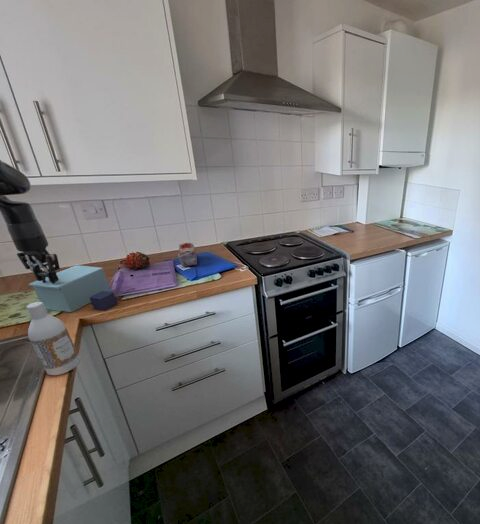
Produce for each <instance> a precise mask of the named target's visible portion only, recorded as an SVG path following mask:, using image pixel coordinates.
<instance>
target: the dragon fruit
mask: <svg viewBox="0 0 480 524" xmlns="http://www.w3.org/2000/svg"><path fill="white" fill-rule="evenodd" d="M119 264H120V265H123V268H126V269H133V270H134V271H136V270H139V269H143V268H145V266H147V265H149V264H150V257H149V256H148V255H147V254H146V253H142V252H141V251H136V252H130V253H128V254H127V255H126V257H125V258H122V260H121V261H120V262H119Z"/></svg>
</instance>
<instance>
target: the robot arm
mask: <svg viewBox="0 0 480 524" xmlns="http://www.w3.org/2000/svg"><path fill="white" fill-rule="evenodd" d="M30 190H31V181H30V179H29V178H28V177H27V176H26V174H24V173H23V172H22V171H21V170H19V169H17V168H15V167H14V166H12V165H10V164H9V163H7V162H5V161H3V160H1V159H0V215H1V216H2V218H3V220H4V222H5V225H6V227H7V228H6V229H7V231H8V233H9V236H10V238H11V240H12V242H13V244H14V246H15V249H16V250H17V251H18V253H16V256H17V257H18V259H19V260H20V262H21V264H22V265H23V267H24V268H25V269H26V270H30V272H32V273H33V275H34V276H35V279H36V281H42V280H41V277H40V276H37V272H39V271H43V270H44V272H46V274H47V276H48V278H49V280H50V282H52V283H54V282H56V281H58V280H59V279H58V277H57V274H56V273H57V272H56V271H59V270H60V269H61V268H60V263H59V258H58V255H57V253H53V254H52V253H49V251H48V249H46V248H47V247H49V242H48V240H47V237H46V235H45V233H44V230H43V227H42V225H41V224H40V221H38V218H37V216H36V214H35V211H34V209H33V207H32V205H31V204H30V203H29V202H27V201H20V200H19V201H17V200H13V199H10V198H9V197H8V196H14V195H25V194H27V193H29V191H30ZM44 278H45V279H46V277H44Z"/></svg>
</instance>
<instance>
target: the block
mask: <svg viewBox="0 0 480 524" xmlns="http://www.w3.org/2000/svg"><path fill="white" fill-rule="evenodd" d="M89 298H90V300H91V302H90V303H91V306H92V308H93V310H97V311H104V312H107V311H108V310H110V309H111V308H113V307H114V306H117V305H118V304H119V303H118V301H117V298H116V295H115V292H114V291H111V292H108V291H101V292H99V293H97V294H95V295H93V296H91V297H89Z"/></svg>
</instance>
